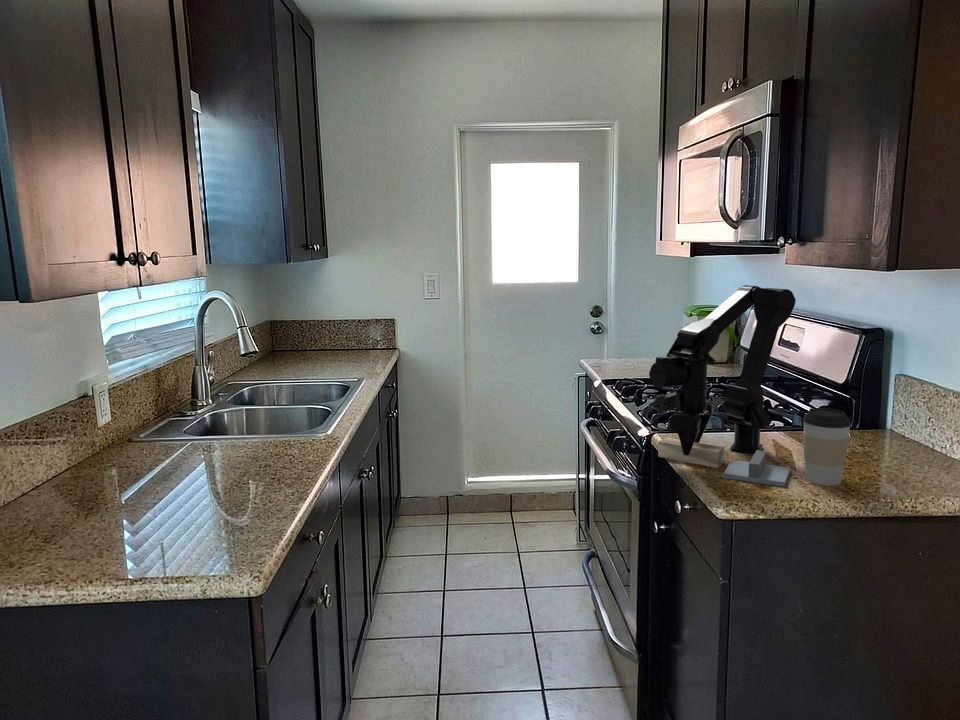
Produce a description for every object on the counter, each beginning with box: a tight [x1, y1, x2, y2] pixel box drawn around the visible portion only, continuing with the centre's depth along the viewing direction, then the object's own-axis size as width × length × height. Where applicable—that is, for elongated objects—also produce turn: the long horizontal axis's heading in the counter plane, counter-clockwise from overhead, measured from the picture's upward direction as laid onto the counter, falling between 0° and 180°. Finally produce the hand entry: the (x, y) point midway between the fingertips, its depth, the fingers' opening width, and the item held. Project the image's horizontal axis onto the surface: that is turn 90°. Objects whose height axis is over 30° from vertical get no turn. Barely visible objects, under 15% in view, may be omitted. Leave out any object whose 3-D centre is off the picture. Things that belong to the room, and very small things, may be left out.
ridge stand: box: [722, 450, 791, 488], centre depth 146 cm, size 10×12×4 cm
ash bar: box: [657, 437, 725, 469], centre depth 157 cm, size 4×14×4 cm, turn 52°
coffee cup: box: [802, 407, 852, 487], centre depth 141 cm, size 9×9×15 cm
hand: (691, 449), depth 157 cm, fingers open, 9 cm apart
